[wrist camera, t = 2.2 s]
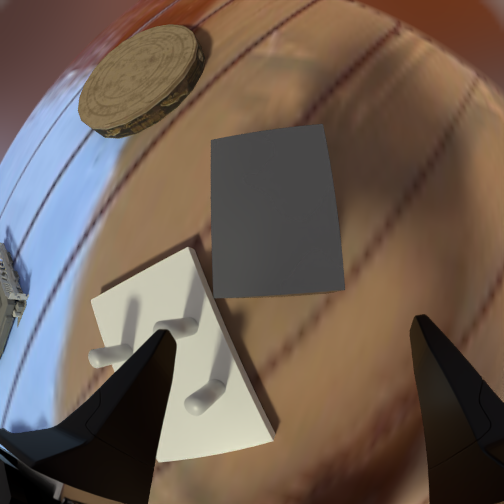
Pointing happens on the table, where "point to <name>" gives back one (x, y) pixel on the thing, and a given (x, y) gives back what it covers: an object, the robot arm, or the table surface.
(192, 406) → the pin tray
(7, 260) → the graphics card
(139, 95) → the brown flat round piece
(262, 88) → the table surface
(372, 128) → the table surface
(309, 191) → the block
